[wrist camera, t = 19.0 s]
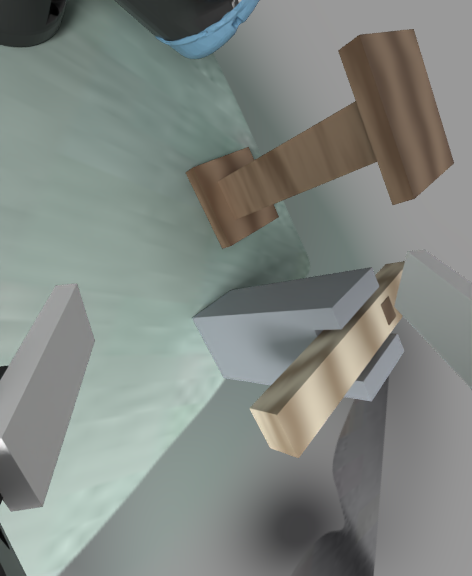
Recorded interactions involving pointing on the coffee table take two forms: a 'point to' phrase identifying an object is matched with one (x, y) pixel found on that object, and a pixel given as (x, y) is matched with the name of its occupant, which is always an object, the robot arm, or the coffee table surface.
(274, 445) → the birch bar
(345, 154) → the walnut stand
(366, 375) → the slotted block
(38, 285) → the coffee table surface
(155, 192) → the coffee table surface
